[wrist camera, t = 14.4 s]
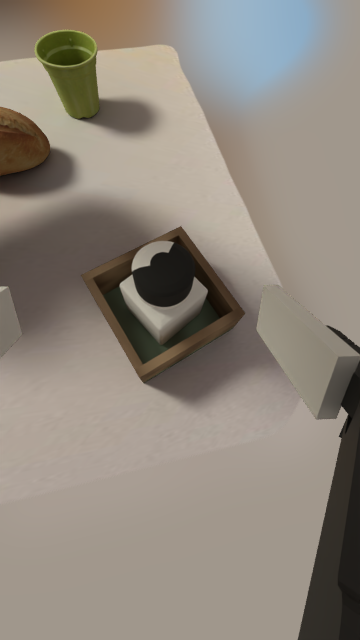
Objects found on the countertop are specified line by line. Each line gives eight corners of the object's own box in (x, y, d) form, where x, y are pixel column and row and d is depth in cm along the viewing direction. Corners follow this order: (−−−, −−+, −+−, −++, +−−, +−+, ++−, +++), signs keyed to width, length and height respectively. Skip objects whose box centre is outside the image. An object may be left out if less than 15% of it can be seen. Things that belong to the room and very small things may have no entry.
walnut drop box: (143, 383, 33) (139, 377, 28) (93, 296, 37) (80, 275, 31) (232, 328, 36) (245, 313, 31) (178, 252, 40) (181, 226, 34)
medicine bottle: (201, 312, 36) (218, 267, 25) (161, 346, 34) (159, 315, 23) (166, 277, 37) (167, 218, 26) (126, 307, 36) (108, 259, 24)
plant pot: (45, 112, 48) (20, 50, 40) (78, 84, 51) (61, 21, 43) (87, 133, 47) (70, 75, 39) (118, 104, 50) (109, 43, 41)
